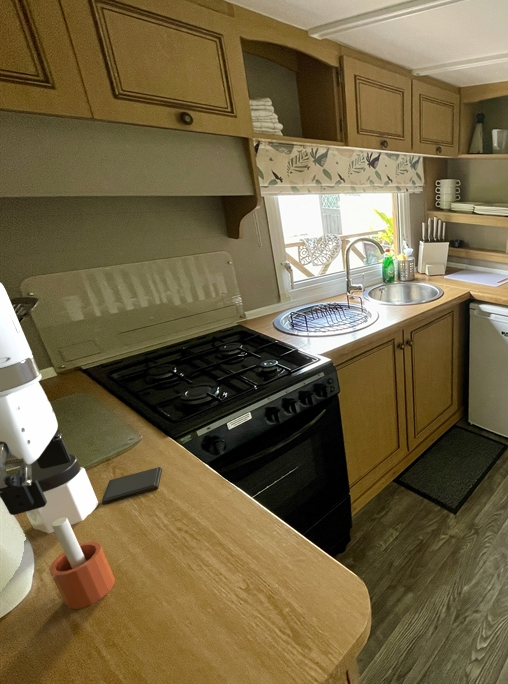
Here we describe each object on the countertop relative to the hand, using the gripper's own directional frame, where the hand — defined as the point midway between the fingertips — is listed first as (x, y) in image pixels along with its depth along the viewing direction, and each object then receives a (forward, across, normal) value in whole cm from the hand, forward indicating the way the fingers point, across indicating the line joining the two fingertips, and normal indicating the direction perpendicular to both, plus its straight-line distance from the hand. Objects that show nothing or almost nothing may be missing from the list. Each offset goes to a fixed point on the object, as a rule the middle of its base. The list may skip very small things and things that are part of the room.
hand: (44, 485), depth 52 cm
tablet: (+22, -26, +1) cm, 34 cm away
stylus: (+22, 0, 0) cm, 22 cm away
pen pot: (+22, 0, 0) cm, 22 cm away
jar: (+22, -22, -8) cm, 33 cm away
